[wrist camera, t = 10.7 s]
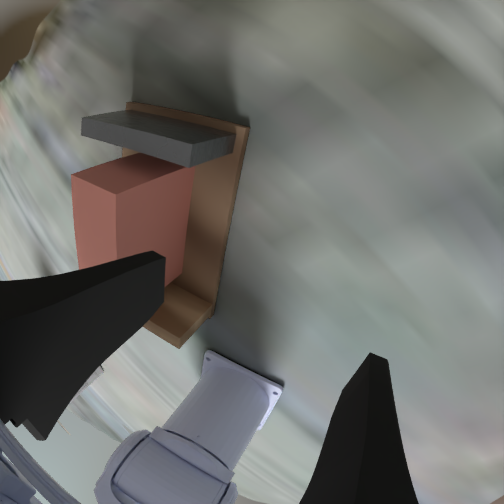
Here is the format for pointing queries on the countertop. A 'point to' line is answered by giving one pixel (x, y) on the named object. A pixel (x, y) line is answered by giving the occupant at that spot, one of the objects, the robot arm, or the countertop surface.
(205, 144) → the gray rectangular bar
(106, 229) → the pink rectangular pillar
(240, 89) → the countertop surface
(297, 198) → the countertop surface
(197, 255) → the shelf
